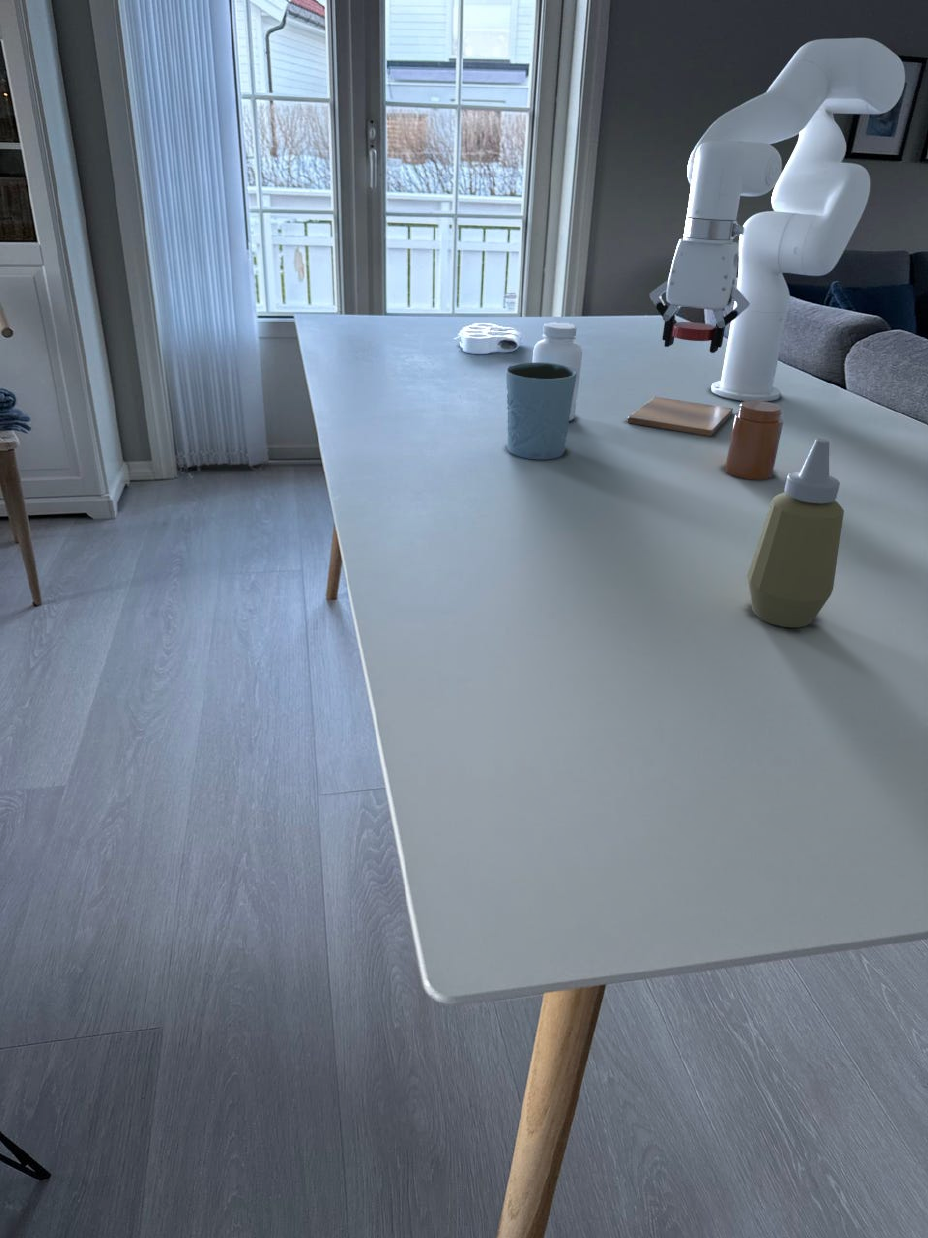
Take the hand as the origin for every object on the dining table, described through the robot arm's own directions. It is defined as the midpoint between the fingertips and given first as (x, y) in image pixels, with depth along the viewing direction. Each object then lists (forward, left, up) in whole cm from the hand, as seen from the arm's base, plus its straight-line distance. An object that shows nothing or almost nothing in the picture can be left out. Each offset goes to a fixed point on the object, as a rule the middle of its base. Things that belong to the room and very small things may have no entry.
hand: (691, 347), depth 148 cm
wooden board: (0, 0, -12) cm, 12 cm away
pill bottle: (+12, -19, -12) cm, 25 cm away
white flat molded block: (-34, -53, -12) cm, 64 cm away
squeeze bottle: (+67, +28, -12) cm, 73 cm away
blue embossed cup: (+31, -14, -12) cm, 36 cm away
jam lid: (0, 0, +3) cm, 3 cm away
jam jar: (+23, +16, -12) cm, 30 cm away
